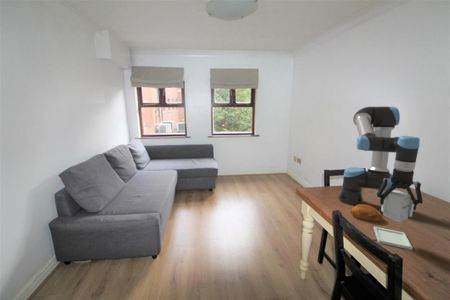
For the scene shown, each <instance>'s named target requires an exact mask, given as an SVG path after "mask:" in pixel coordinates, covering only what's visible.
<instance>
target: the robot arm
mask: <svg viewBox="0 0 450 300" xmlns="http://www.w3.org/2000/svg"><path fill="white" fill-rule="evenodd" d="M400 116H401V115H400V110H399V109H398V107H395V106H366V107H362V108H360V109H359V110H357V112H355V114H354V115H353V118H352V120H353V124H354V126H356V128H357V133H358V137H357V139H356V149H357V150H359V151H365V152H368V151H369V152H372V154H371V155H372V156H371V162H370V163H371V164H370V166H368V167H367V170H366V169H364V168H362V167H358V166H356V167H355V166H353V167H347V168H346V169H344V171H343V179H342V188H341V190H340V192H339V194H338V198H339V199H340V200H341V201H340V200H339V199H338V200H339V201H340V202H341V203H344V204H346V203H347V205H350V204H351V206H356V205H358V204H364V196H363V192H362V191H363V189H368V190H376V191H377V192H376V196H377V198H380V200H379V205H381V207H380V208H381V209H380V210H381V213H384V211H385V205H386V197H387V196H388V195H389V193H391V192H392V191H394V190H398V189H399V190H400V189H401V190H406V193H408V194H409V195H410V196H411V199H412V200H411V205H410V210H409V215H408V217H410V218H412V217H413V213H414V211H416V210H417V206H418V205H419V204H423V203H424V201H423V196H422V191H421V186H422V183H421V182H420V181H414V180H413V179H414V173H415V168H416V164H417V157H418V153H419V148H420V142H421V139H420V138H419V137H417V136H412V135H401V136H394V137H393V136H392V131H393V130H394V129H395V128H396V127H395V126H398V125H399V124H400V119H401V117H400ZM391 136H392V137H391ZM389 153H395V158H394V164H393V169H392V173H391V172H390V170H389V169H388V161H389ZM411 186H414V188H415V189H414V190H415V195H414V193H413V192H412V189H411V188H410V187H411ZM415 196H416V197H415Z"/></svg>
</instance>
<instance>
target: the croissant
mask: <svg viewBox="0 0 450 300" xmlns="http://www.w3.org/2000/svg"><path fill="white" fill-rule="evenodd" d="M350 213H351V216H352V217H355V218H358V219H361V220H366V221H370V222H371V221H372V222H379V221H381V219H382V218H383V213H382V212H380V211H379V210H378V209H376V208H375V207H374V206H372V205H370V204H364V203H363V204H358V205H354V206H353V207H352V208H351V209H350Z"/></svg>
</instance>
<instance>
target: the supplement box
mask: <svg viewBox="0 0 450 300" xmlns="http://www.w3.org/2000/svg"><path fill="white" fill-rule="evenodd" d="M385 199H386V205H385V211H384V212H382V216H384V217H386V218H389V219H390V220H393V221H395V222H398V223H400V222H403V221H405V220H408V219H409V210H410V205H411V202H412V199H411V196H410V195H409V194H408V192H404V191H402V190H401V191H400V190H398V189H394V190H393V191H392V192H391V193H389V195H388V196H387V197H386V198H385Z"/></svg>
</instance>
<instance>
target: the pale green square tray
mask: <svg viewBox="0 0 450 300" xmlns="http://www.w3.org/2000/svg"><path fill="white" fill-rule="evenodd" d="M373 231H374V234H375V237H376V240H377V242H378V243H379V244H384V245H387V246H392V247H396V248H400V249H401V248H402V249H406V250H410V251H413V245H412V244H411V242H410V240H409V239H408V236H407V234H406V233H405V232H404V231H403V232H402V231H398V230H394V229H388V228H383V227H379V226H373Z"/></svg>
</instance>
